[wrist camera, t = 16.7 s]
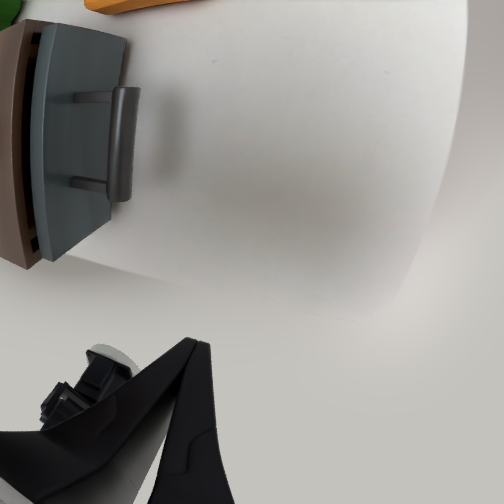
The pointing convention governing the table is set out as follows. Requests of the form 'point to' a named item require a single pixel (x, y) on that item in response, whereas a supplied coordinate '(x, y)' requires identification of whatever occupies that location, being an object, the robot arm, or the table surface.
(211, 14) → the table surface
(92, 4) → the multimeter
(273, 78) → the table surface
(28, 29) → the cabinet
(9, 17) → the bell pepper
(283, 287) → the table surface
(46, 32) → the drawer
